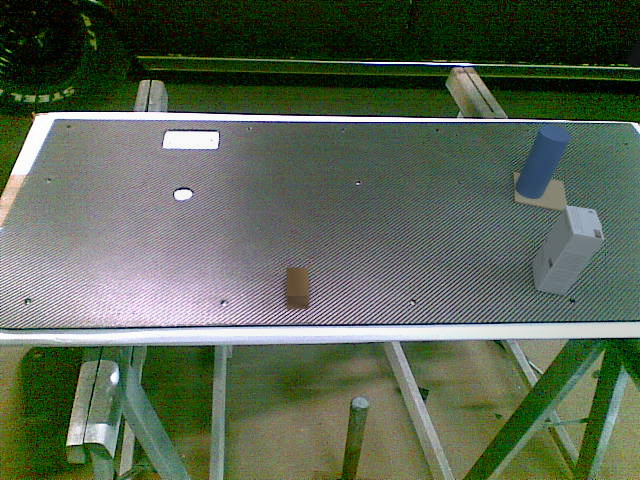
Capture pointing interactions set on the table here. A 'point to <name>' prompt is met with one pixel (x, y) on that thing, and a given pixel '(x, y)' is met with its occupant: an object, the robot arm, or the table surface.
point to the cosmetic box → (567, 250)
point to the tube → (542, 161)
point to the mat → (545, 196)
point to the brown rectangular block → (297, 288)
